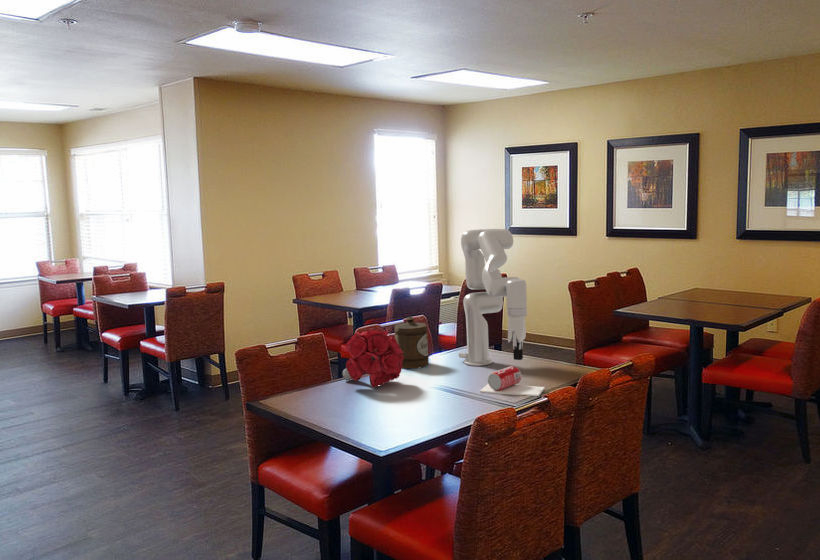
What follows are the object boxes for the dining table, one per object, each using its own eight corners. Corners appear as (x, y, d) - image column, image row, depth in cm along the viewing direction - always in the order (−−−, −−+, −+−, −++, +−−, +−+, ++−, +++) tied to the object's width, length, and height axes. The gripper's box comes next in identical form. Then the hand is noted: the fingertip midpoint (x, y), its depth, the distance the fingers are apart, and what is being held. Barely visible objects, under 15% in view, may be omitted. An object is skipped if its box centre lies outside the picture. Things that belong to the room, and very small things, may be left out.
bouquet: (336, 404, 263) (382, 376, 245) (316, 350, 270) (360, 319, 252) (374, 395, 279) (420, 368, 261) (355, 344, 286) (399, 315, 268)
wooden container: (428, 368, 289) (426, 318, 287) (394, 369, 290) (392, 320, 287) (428, 360, 304) (426, 313, 302) (396, 361, 304) (394, 314, 302)
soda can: (519, 363, 253) (498, 370, 244) (525, 381, 252) (504, 388, 243) (505, 367, 258) (484, 374, 249) (511, 385, 257) (490, 393, 248)
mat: (480, 392, 248) (480, 390, 248) (488, 384, 258) (488, 383, 258) (538, 396, 239) (538, 394, 239) (544, 388, 249) (544, 387, 249)
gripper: (512, 308, 258) (513, 354, 260) (502, 314, 245) (503, 363, 247) (531, 309, 255) (532, 355, 257) (522, 315, 242) (523, 364, 244)
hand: (518, 359), depth 252 cm, fingers closed
